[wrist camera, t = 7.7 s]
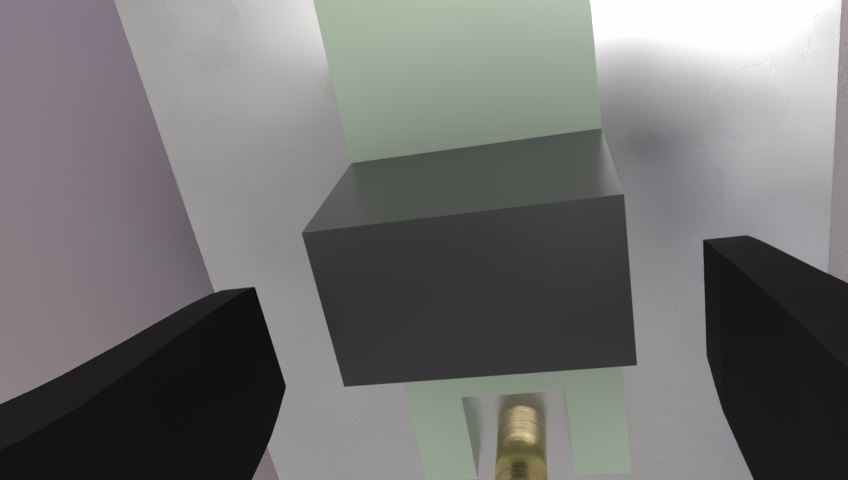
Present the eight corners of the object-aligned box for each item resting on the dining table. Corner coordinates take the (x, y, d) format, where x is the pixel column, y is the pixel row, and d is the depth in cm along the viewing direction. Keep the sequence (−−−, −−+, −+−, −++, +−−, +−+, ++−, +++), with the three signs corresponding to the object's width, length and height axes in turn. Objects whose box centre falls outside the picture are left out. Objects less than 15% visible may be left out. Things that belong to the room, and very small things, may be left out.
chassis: (801, 503, 19) (866, 643, 15) (311, 520, 22) (268, 641, 18) (837, -456, 11) (987, -635, 7) (62, -236, 14) (-103, -290, 10)
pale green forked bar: (626, 444, 18) (654, 602, 14) (431, 454, 19) (404, 604, 15) (569, -195, 12) (590, -251, 8) (298, -132, 13) (194, -154, 9)
